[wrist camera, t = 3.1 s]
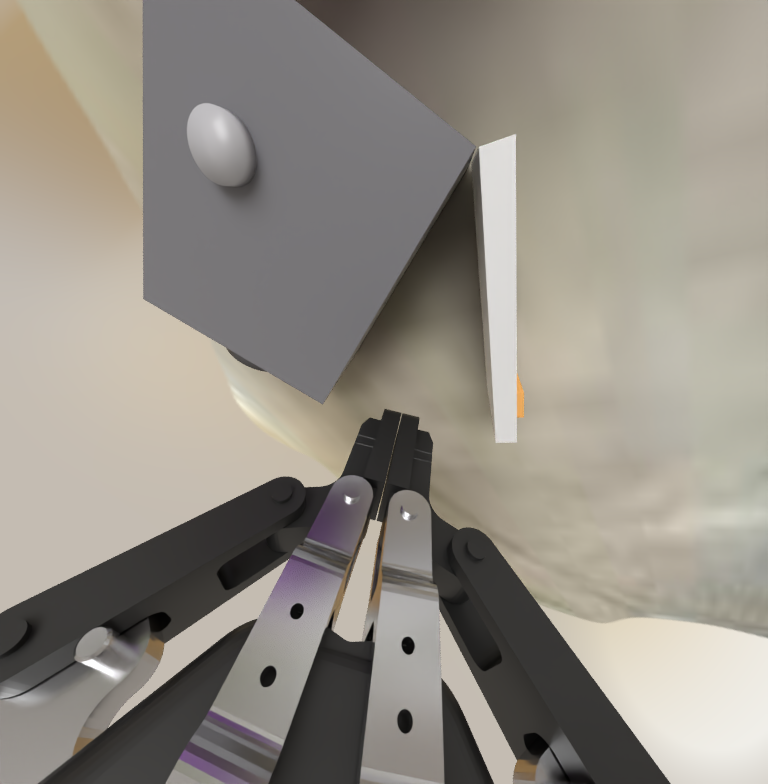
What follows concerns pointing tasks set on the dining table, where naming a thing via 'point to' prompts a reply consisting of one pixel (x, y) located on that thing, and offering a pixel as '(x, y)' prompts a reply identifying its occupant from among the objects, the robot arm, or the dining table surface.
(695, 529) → the dining table surface
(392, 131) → the camera case
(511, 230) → the side door
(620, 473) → the dining table surface
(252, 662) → the robot arm
